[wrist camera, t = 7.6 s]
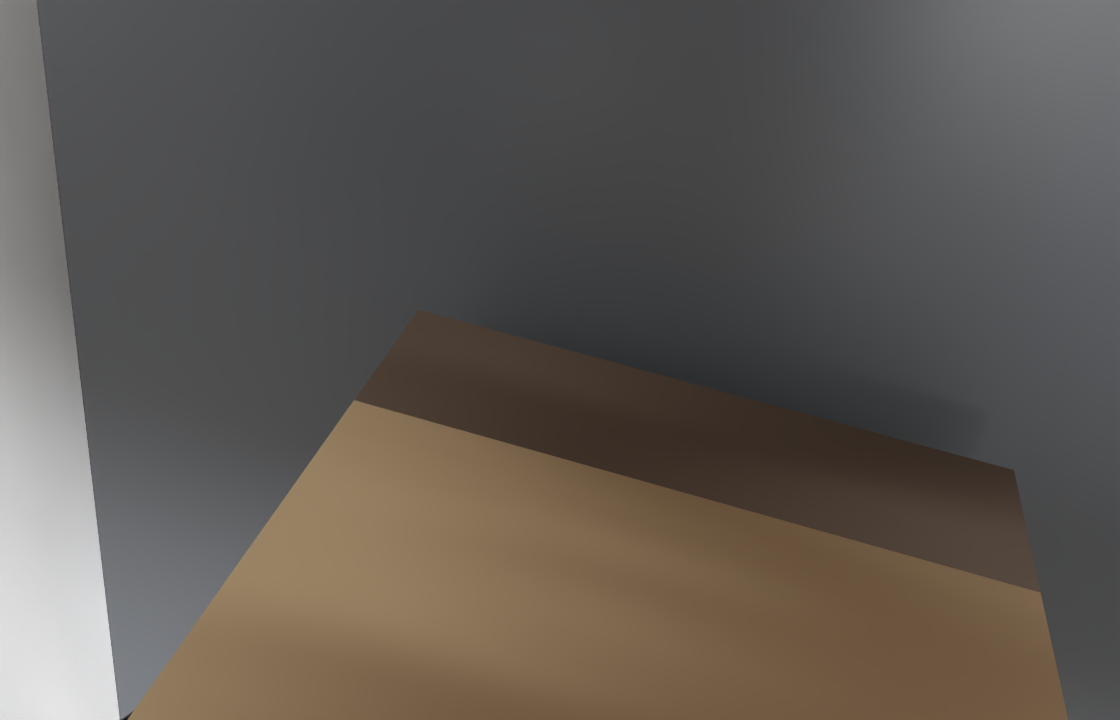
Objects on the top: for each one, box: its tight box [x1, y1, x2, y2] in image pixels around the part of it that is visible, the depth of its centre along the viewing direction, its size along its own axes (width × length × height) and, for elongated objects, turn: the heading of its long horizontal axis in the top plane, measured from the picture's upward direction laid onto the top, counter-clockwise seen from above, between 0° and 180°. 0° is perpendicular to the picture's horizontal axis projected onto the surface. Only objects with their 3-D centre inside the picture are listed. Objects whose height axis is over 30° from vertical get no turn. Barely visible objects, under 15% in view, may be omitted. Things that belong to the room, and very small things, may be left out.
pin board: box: [37, 0, 1120, 720], centre depth 10 cm, size 14×14×6 cm
